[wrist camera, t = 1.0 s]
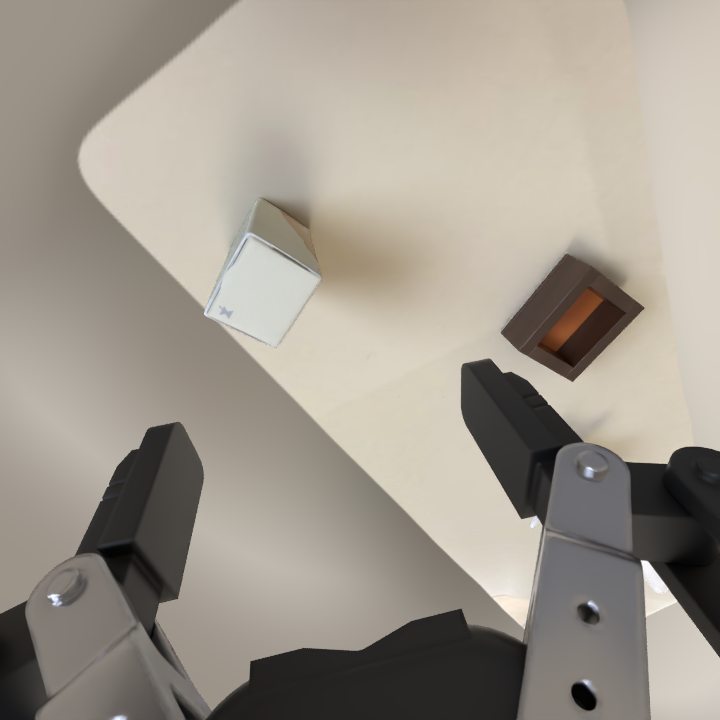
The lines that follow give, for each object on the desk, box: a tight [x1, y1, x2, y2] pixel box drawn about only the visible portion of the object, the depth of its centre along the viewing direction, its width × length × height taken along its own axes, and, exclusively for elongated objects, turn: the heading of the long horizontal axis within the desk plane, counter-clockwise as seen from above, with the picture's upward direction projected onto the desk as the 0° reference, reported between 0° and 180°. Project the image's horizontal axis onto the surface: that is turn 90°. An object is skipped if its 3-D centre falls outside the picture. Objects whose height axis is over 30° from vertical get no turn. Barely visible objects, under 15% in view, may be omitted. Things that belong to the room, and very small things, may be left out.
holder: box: [501, 254, 644, 382], centre depth 36 cm, size 8×9×3 cm
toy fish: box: [641, 560, 669, 593], centre depth 62 cm, size 6×18×4 cm, turn 40°
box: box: [204, 198, 322, 348], centre depth 25 cm, size 5×4×11 cm
